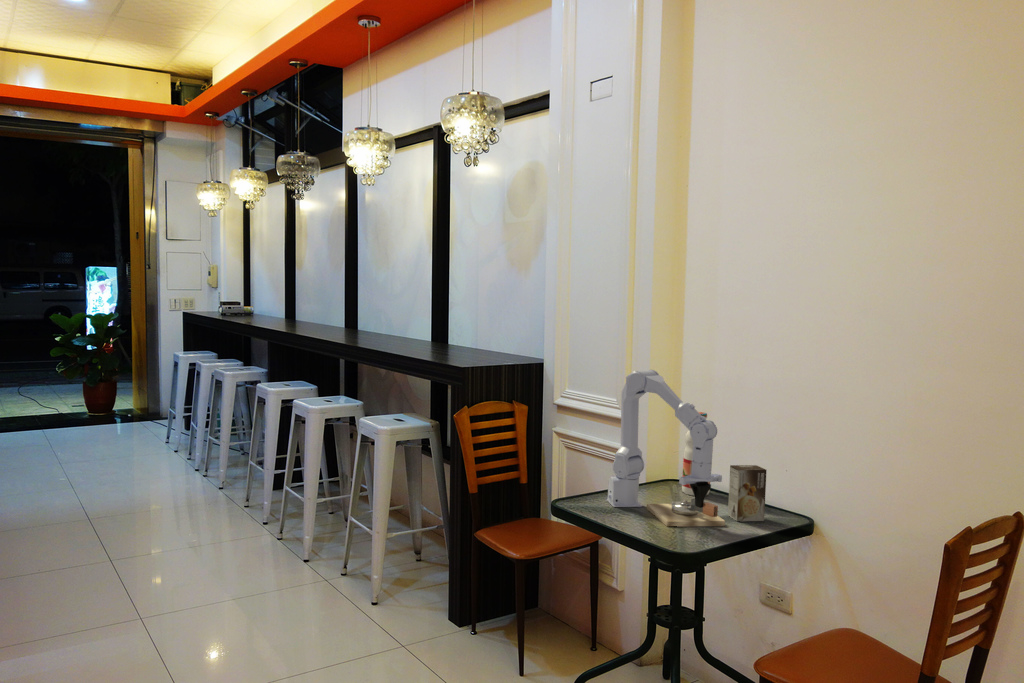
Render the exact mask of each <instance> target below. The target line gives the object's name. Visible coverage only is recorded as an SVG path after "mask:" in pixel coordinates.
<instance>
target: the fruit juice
mask: <svg viewBox="0 0 1024 683" xmlns="http://www.w3.org/2000/svg"><path fill="white" fill-rule="evenodd" d="M698 412H699V413H700V414H701V415H702V416H704V417H705V418H706V419H707V418H708V413H707V412H701V411H698ZM684 443H685V447H684V450H683V458H682V460H683V461H682V462H683V463H682V476H681V477H684V476H688V475H691V469H692V454H693V439H692V438H691V435H690V431H689V430H688V429H687V432H686V433H685V434H684ZM708 484H711V482H708ZM710 490H711V489H710ZM710 490H709V491H708V493H707V494H706V496H708V495H709V494H710ZM681 492H683V494H685V495H690V496H694V493H693V490H692V488H691V486H690V484H686V485H682V484H681Z"/></svg>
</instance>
